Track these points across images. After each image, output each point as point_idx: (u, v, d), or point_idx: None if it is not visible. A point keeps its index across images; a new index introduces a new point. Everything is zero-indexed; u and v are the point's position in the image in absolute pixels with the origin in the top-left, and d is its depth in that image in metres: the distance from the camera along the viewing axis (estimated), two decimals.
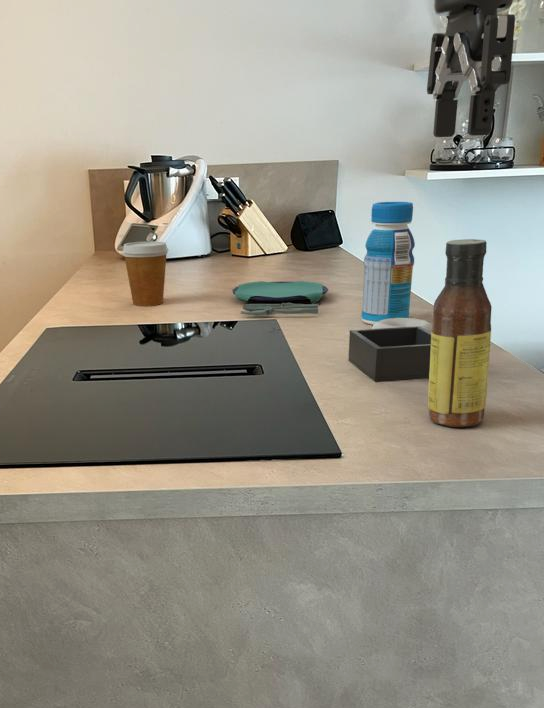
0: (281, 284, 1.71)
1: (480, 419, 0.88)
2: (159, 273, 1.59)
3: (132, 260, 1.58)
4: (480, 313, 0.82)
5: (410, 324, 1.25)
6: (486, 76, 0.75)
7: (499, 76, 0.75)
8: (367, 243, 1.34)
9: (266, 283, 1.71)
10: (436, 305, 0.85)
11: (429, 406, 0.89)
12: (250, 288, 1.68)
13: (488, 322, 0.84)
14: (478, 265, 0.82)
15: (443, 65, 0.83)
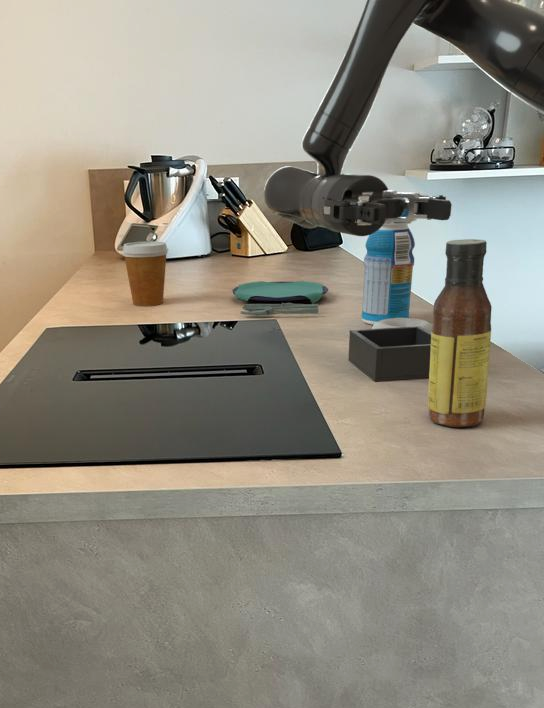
0: (281, 284, 1.71)
1: (480, 419, 0.88)
2: (159, 273, 1.59)
3: (132, 260, 1.58)
4: (480, 313, 0.82)
5: (410, 324, 1.25)
6: (339, 222, 0.94)
7: (340, 211, 0.94)
8: (367, 243, 1.34)
9: (266, 283, 1.71)
10: (436, 305, 0.85)
11: (429, 406, 0.89)
12: (250, 288, 1.68)
13: (488, 322, 0.84)
14: (478, 265, 0.82)
15: (399, 221, 0.98)
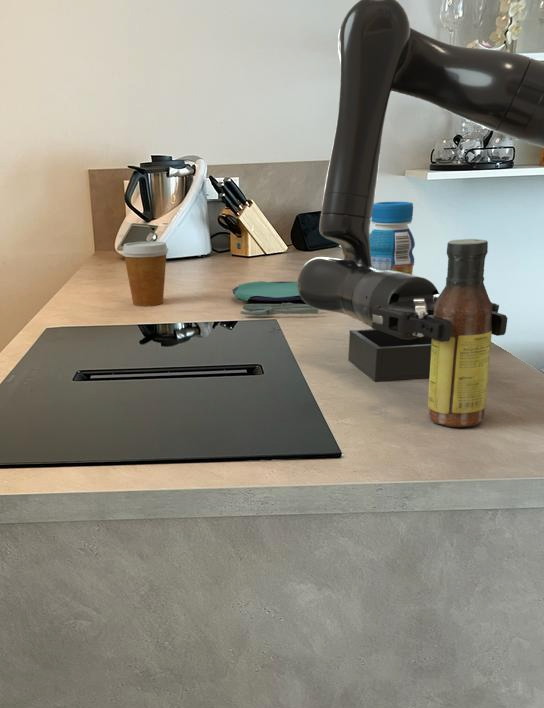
0: (281, 284, 1.71)
1: (480, 419, 0.88)
2: (159, 273, 1.59)
3: (132, 260, 1.58)
4: (481, 313, 0.82)
5: None
6: (398, 335, 0.87)
7: (399, 323, 0.86)
8: None
9: (266, 283, 1.71)
10: (437, 305, 0.85)
11: (429, 406, 0.89)
12: (250, 288, 1.68)
13: (489, 322, 0.84)
14: (480, 265, 0.82)
15: None
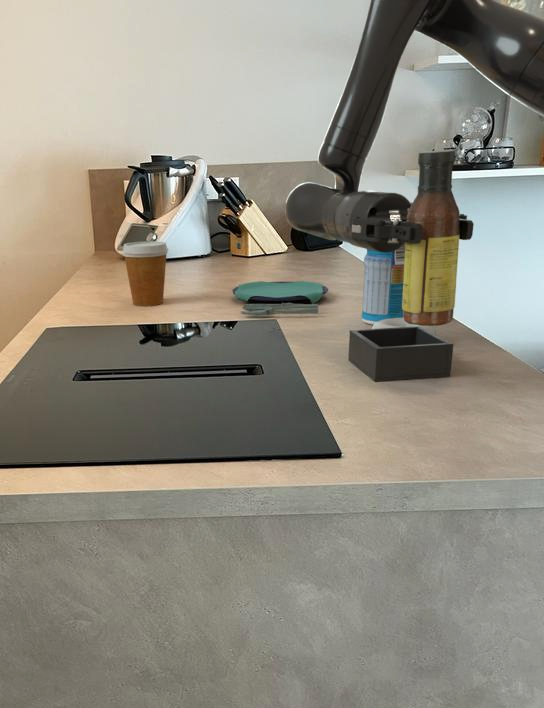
0: (281, 284, 1.71)
1: (449, 319, 0.96)
2: (159, 273, 1.59)
3: (132, 260, 1.58)
4: (449, 216, 0.91)
5: (410, 324, 1.25)
6: (374, 241, 0.95)
7: (375, 230, 0.95)
8: None
9: (266, 283, 1.71)
10: (409, 211, 0.93)
11: (403, 308, 0.97)
12: (250, 288, 1.68)
13: (456, 226, 0.92)
14: (447, 173, 0.90)
15: None
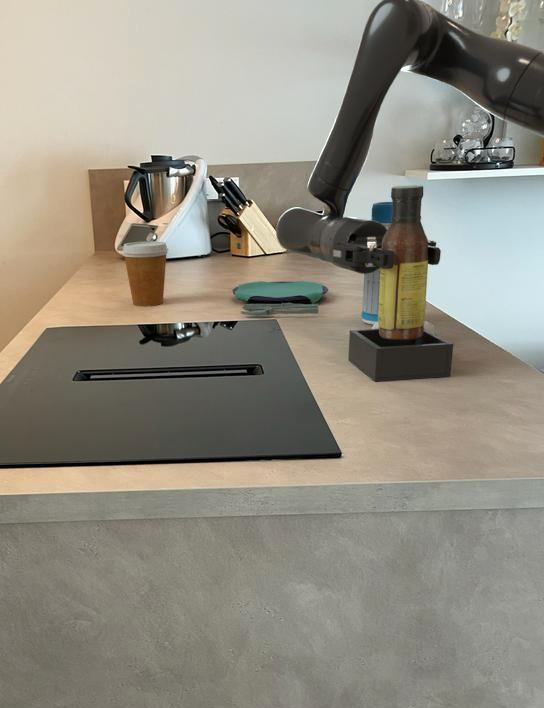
0: (281, 284, 1.71)
1: (419, 335, 1.07)
2: (159, 273, 1.59)
3: (132, 260, 1.58)
4: (418, 244, 1.02)
5: None
6: (352, 265, 1.07)
7: (353, 255, 1.06)
8: None
9: (266, 283, 1.71)
10: (383, 239, 1.04)
11: (379, 324, 1.09)
12: (250, 288, 1.68)
13: (425, 253, 1.03)
14: (416, 206, 1.01)
15: None
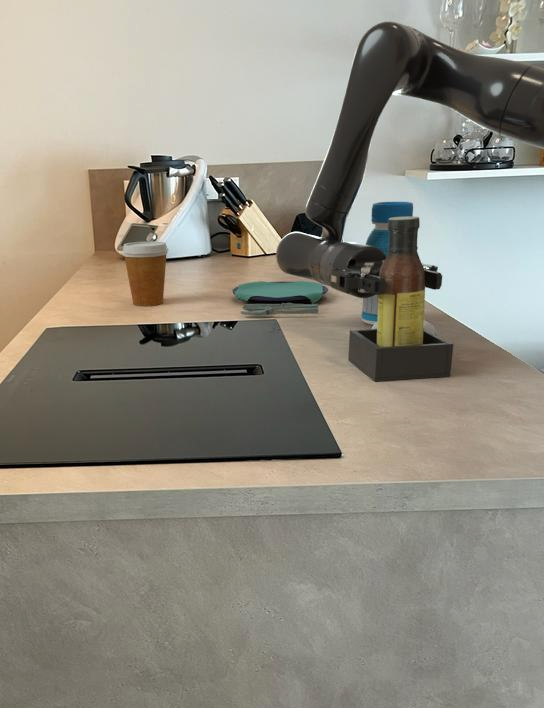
0: (281, 284, 1.71)
1: None
2: (159, 273, 1.59)
3: (132, 260, 1.58)
4: (414, 275, 1.04)
5: None
6: (344, 291, 1.08)
7: (345, 281, 1.08)
8: (367, 243, 1.34)
9: (266, 283, 1.71)
10: (381, 269, 1.06)
11: None
12: (250, 288, 1.68)
13: (422, 282, 1.05)
14: (413, 237, 1.03)
15: None
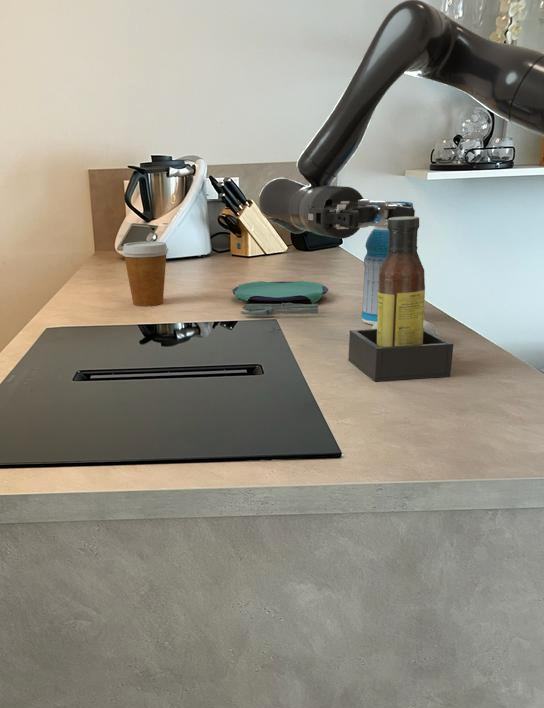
0: (281, 284, 1.71)
1: None
2: (159, 273, 1.59)
3: (132, 260, 1.58)
4: (414, 274, 1.04)
5: None
6: (321, 227, 1.12)
7: (321, 217, 1.11)
8: (367, 243, 1.34)
9: (266, 283, 1.71)
10: (381, 269, 1.06)
11: None
12: (250, 288, 1.68)
13: (421, 282, 1.05)
14: (413, 237, 1.03)
15: (372, 225, 1.16)
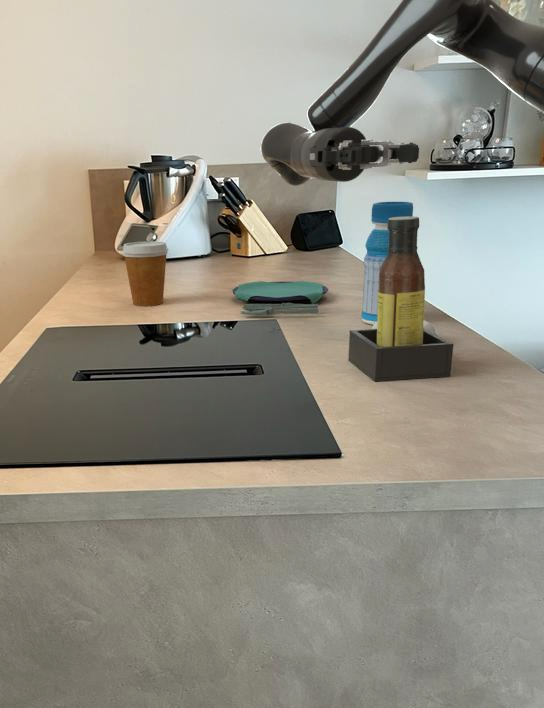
0: (281, 284, 1.71)
1: None
2: (159, 273, 1.59)
3: (132, 260, 1.58)
4: (414, 274, 1.04)
5: None
6: (322, 165, 1.09)
7: (323, 155, 1.08)
8: (367, 243, 1.34)
9: (266, 283, 1.71)
10: (381, 269, 1.06)
11: None
12: (250, 288, 1.68)
13: (421, 282, 1.05)
14: (413, 237, 1.03)
15: (375, 166, 1.13)
